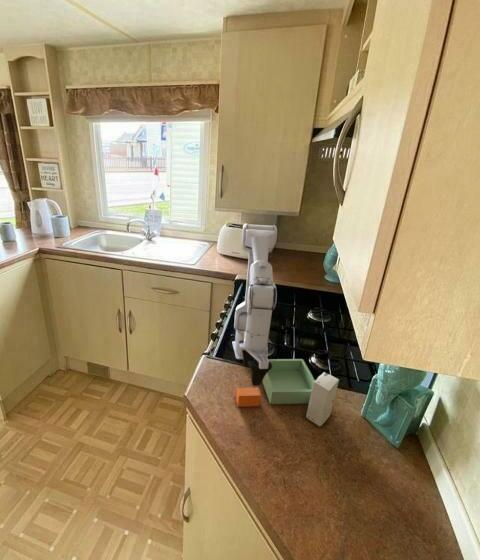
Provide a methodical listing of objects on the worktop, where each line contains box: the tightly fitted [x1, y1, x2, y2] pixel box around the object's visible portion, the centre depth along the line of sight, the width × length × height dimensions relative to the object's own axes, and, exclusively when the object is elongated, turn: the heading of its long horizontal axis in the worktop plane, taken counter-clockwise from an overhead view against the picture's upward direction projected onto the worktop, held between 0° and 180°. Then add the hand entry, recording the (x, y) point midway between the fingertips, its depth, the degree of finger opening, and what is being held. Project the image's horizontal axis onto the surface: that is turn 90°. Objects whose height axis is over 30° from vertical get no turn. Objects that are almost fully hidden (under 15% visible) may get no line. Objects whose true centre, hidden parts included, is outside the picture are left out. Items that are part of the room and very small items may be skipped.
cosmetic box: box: [305, 371, 340, 427], centre depth 81 cm, size 6×4×12 cm
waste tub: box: [262, 358, 316, 405], centre depth 93 cm, size 14×14×4 cm
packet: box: [235, 387, 262, 408], centre depth 87 cm, size 3×6×4 cm, turn 93°
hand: (251, 374), depth 83 cm, fingers open, 7 cm apart
